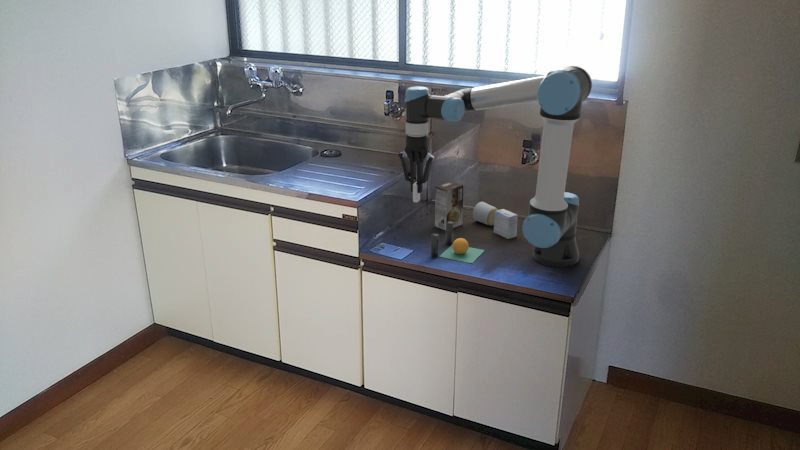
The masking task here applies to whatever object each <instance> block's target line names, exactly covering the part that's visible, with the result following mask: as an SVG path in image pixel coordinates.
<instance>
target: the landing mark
mask: <svg viewBox="0 0 800 450" xmlns="http://www.w3.org/2000/svg"><path fill="white" fill-rule="evenodd" d="M485 251H486V250H485V249H481V248H475V247H471V246H470V247H468V250H467V252H465V253H464V254H457V253H456V252H455V251H454V250H453V244H452V245H449V247H448V248H447V249H445V250H444V251H443V252H442V253H441V254H440V255H438V258H441V257H442V258H441V259H445V260H452V261H456V260H457V262H461V261H462V262H461V263H466V262H467V263H466V264H471V263H472V264H473V263H475V261H476V260H478V258H479V257H480V256H482V254H483V253H484V252H485Z"/></svg>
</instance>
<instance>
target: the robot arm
mask: <svg viewBox="0 0 800 450" xmlns="http://www.w3.org/2000/svg"><path fill="white" fill-rule="evenodd" d="M592 87H593V81H592V77H591V75H590V74H589V72H588V71H587V70H586V69H585V68H584V67H580V66H578V65H569V66H568V65H567V66H566V67H565V66H564V67H562V68H560V69H556V70H552V71H548V72H547V73H546V74H545V75H542V76H536V77H530V78H524V79H518V80H512V81H506V82H500V83H492V84H489V85H488V84H487V85H482V86H477V87H471V88H470V87H465V88H460V89H458V90H456V91H454V92H450V93H448V94H446V95H434V94H430V89H429V88H428V87H425V86H423V85H422V86H410V87H408V88H407V89H406V90H405V100H404V101H405V134H406V135H405V147H404V150H403V151H401V152H399V153H398V157H399V159H400V160H401V161H400V162H401V165H402V169H403V174H404V179H405V181H406V182H409V184H410V192H412V202H413V203H418V202H420V201H421V193H422V192H423V184H425V183H427V182H428V180H429V177H430V173H431V169H432V165H433V162H434V161H435V159H436V156H435V155H432V154H431V153H430V150H429V149H428V147H429V135H428V134H429V119H434V120H439V121H446V122H459V121H460V120H461V121H462V118H463V117H464V114H465V113H469V112H476V111H482V110H489V109H494V108H501V107H502V108H503V107H509V106H517V105H523V104H531V103H537V102H538V105H539V106H540V107H539V108H540V109H539V110H540V111H539V117H540V118H541V119H542V121H543V126H542V127H543V129H542V136H541V145H540V146H541V147H540V153H539V154H540V155H539V161H538V162H539V163H538V169H537V180H536V187H535V188H536V189H535V195H534V197H532V198H531V199H530V200H529V204H528V206H529V207H528V214H527V217H525V219H524V220H523V223H522V229H521V230H522V234H523V236H524V238H525V240H526V241H528V243H529V244H531V245H532V246H534V247H533V249H532V250H533V252H532V258H533V260H535V262H537V263H540V264H542V265H544V266H548V267H552V268H553V267H554V268H564V267H565V268H566V267H573V266H575V265H577V264H578V262H579V260H580V252H579V247H578V243H577V240H576V235H577V224H578V215H579V207H580V198H579V196H578V195H577V194H574V193H572V192H568V191H566V186H567V178H568V177H567V176H568V169H569V162H570V155H571V147H572V141H573V140H572V139H573V132H574V125H575V123H577V122H578V121H579V120H580V119H581V114H582V113H581V112H582V107H583V102H584V101H586V99H588V97H589V96H590V94H591V92H592ZM425 159H426V163H425ZM424 163H425V166H424Z"/></svg>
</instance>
